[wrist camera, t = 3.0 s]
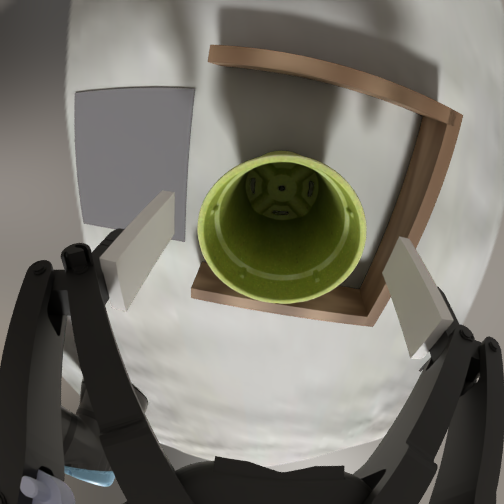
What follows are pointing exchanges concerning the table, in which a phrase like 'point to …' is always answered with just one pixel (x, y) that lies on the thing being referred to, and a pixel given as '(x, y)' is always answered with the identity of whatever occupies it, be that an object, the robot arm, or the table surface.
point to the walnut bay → (408, 203)
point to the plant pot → (282, 228)
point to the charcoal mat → (132, 152)
